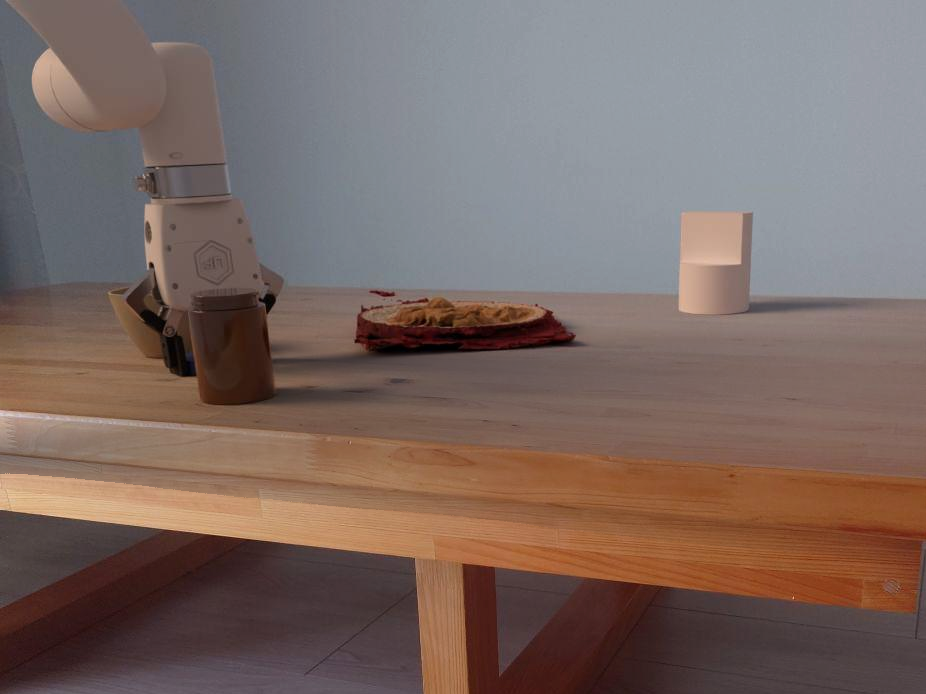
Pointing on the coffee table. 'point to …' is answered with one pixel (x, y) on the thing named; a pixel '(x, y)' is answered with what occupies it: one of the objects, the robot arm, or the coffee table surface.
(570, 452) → the coffee table surface
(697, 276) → the base with upright slab
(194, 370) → the jar lid
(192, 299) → the jar
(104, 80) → the robot arm
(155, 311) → the flower pot
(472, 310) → the plate with food
